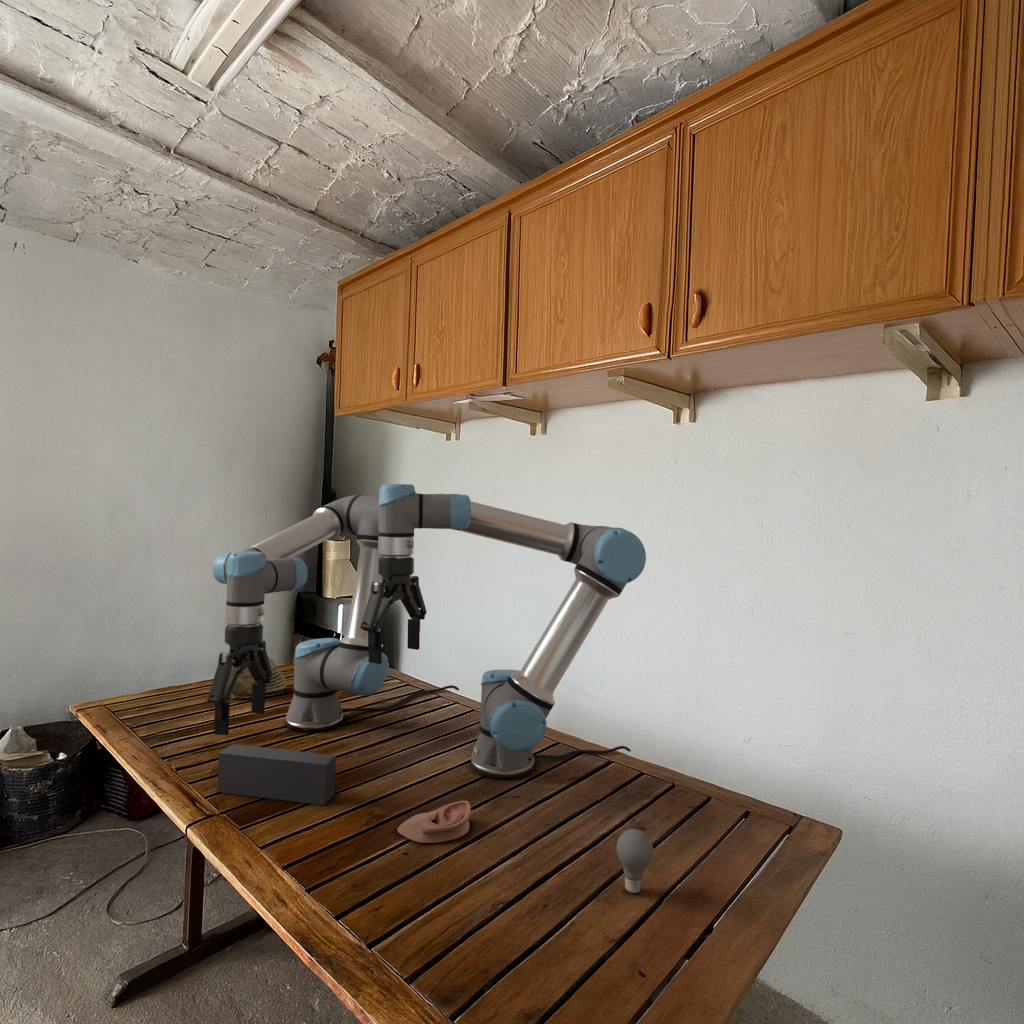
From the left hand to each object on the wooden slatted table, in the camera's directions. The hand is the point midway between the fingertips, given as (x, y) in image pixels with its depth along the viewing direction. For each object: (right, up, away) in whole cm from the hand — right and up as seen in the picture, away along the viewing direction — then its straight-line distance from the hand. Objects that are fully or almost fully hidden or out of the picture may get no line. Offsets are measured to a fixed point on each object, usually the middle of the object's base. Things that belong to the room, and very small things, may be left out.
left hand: (240, 723), depth 135 cm
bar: (+8, -15, -1) cm, 17 cm away
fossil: (-23, -12, +63) cm, 68 cm away
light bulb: (+78, -18, -30) cm, 86 cm away
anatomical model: (+43, -16, -13) cm, 48 cm away
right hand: (+33, +14, 0) cm, 36 cm away
